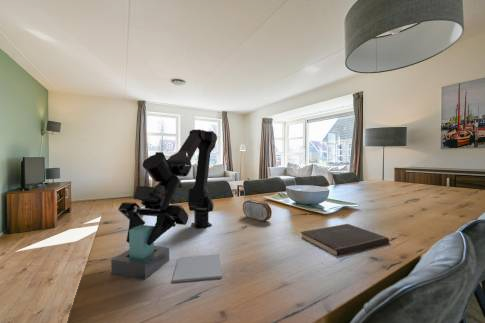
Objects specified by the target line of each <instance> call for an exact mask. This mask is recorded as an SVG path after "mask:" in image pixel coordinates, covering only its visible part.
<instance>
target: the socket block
mask: <svg viewBox="0 0 485 323" xmlns="http://www.w3.org/2000/svg"><path fill="white" fill-rule="evenodd" d="M169 261H170V247H166V246H159V245H154V253H153V254H151V255H150V256H148V257H147V258H145V259H137V258H130V257H129V249H128V250H126V251H124V252H122V253H121V254H119V255H117V256H115V257H114V258H111V260H110V264H111V268H110V269H111V271H110V272H111V275H114V276H120V277H127V278H132V279H138V280H142V281H143V280H144V281H145V280H147V279H148V278H149V277H150V276H152V275H153V274H154V273H155V272H157V271H158V270H159V269H161V268H162V267H163V266H164V265H165V264H167V263H168V262H169Z"/></svg>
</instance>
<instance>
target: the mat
mask: <svg viewBox="0 0 485 323" xmlns="http://www.w3.org/2000/svg"><path fill="white" fill-rule="evenodd" d="M222 278H223V274H222V266H221V258H220V254H219V253H218V254H217V253H216V254H205V255H204V254H203V255H191V256H190V255H189V256H179V257H178V259H177V263H176V266H175V269H174V273H173V277H172V283H181V282H188V281H189V282H190V281H201V280H203V281H204V280H213V279H222Z"/></svg>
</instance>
